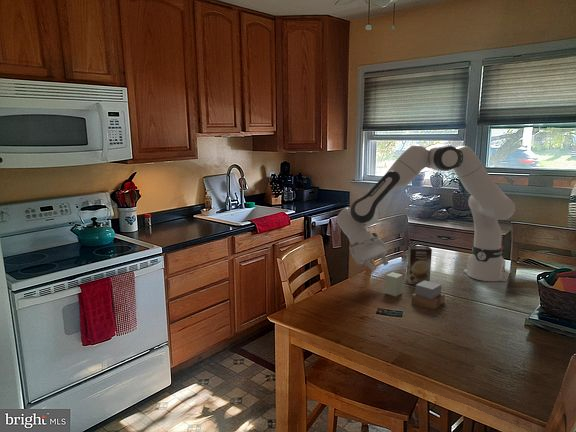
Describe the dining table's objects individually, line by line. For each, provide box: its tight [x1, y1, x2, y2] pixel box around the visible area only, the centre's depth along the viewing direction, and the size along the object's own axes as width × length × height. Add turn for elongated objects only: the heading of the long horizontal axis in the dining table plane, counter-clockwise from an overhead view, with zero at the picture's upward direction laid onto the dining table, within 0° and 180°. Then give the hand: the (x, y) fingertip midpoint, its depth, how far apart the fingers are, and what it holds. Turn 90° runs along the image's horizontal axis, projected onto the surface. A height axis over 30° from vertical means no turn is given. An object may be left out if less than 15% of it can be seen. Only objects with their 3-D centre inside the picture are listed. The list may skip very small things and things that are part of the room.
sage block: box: [384, 271, 404, 297], centre depth 169 cm, size 5×5×8 cm
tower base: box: [411, 292, 446, 311], centre depth 159 cm, size 9×9×4 cm
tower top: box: [414, 280, 442, 299], centre depth 158 cm, size 7×7×4 cm
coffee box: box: [405, 245, 433, 285], centre depth 181 cm, size 9×6×16 cm
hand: (380, 267), depth 173 cm, fingers open, 8 cm apart
